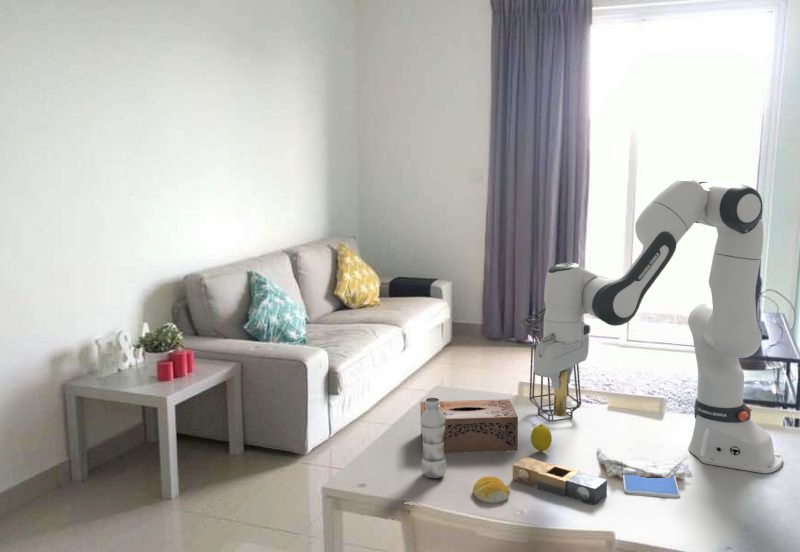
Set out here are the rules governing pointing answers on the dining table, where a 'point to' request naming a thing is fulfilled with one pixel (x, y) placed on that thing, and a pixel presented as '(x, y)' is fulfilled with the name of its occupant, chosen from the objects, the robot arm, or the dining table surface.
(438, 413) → the plastic bottle
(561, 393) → the brass pin
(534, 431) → the lemon
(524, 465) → the block
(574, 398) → the geometric lantern
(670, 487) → the tablet computer
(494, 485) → the bread roll
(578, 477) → the block
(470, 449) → the tissue box cover
